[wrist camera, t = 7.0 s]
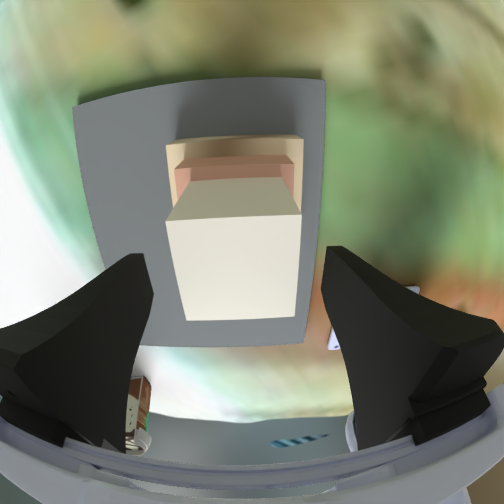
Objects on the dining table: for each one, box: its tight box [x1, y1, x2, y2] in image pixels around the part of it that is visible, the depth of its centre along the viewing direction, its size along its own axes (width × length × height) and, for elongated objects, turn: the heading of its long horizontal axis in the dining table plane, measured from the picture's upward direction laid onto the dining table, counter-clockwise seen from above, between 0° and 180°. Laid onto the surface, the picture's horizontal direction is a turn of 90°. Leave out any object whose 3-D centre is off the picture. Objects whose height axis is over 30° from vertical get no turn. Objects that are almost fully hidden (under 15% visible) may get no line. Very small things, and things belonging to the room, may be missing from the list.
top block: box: [165, 177, 302, 321], centre depth 12 cm, size 5×5×5 cm
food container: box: [126, 376, 152, 456], centre depth 29 cm, size 12×6×10 cm, turn 111°
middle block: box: [174, 155, 294, 199], centre depth 16 cm, size 6×6×2 cm
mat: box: [72, 77, 325, 347], centre depth 21 cm, size 18×24×1 cm
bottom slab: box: [166, 134, 304, 212], centre depth 18 cm, size 8×8×2 cm
